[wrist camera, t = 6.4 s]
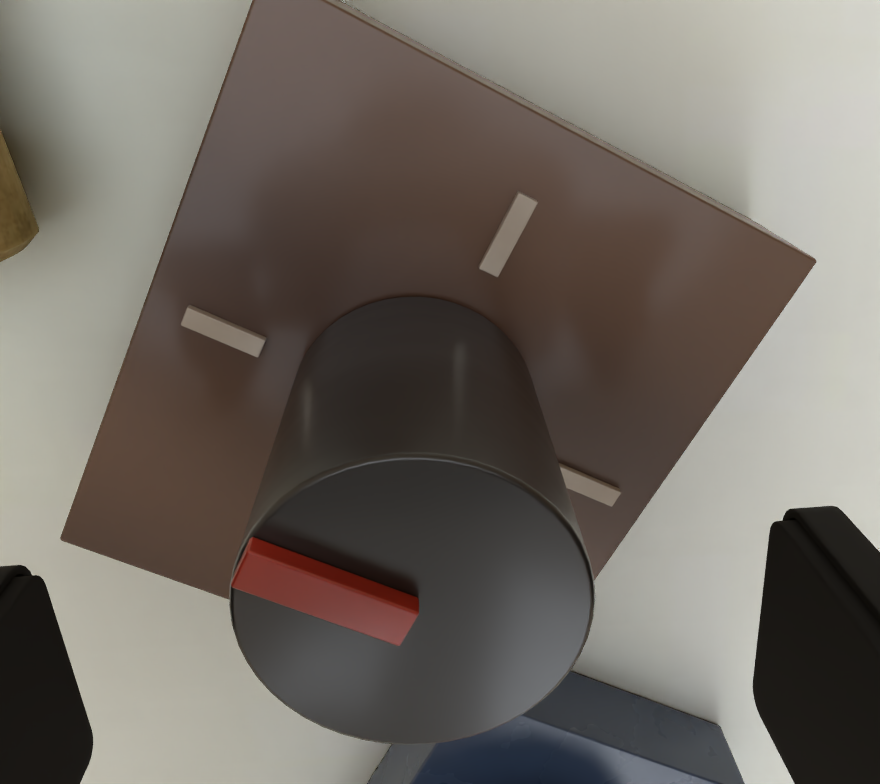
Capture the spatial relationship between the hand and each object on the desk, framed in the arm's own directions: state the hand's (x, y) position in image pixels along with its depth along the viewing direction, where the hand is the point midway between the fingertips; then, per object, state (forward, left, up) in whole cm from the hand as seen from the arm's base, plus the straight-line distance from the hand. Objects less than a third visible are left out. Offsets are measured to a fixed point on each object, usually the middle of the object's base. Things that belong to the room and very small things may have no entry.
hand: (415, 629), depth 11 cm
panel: (+1, 0, -8) cm, 8 cm away
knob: (+1, 0, -5) cm, 5 cm away
